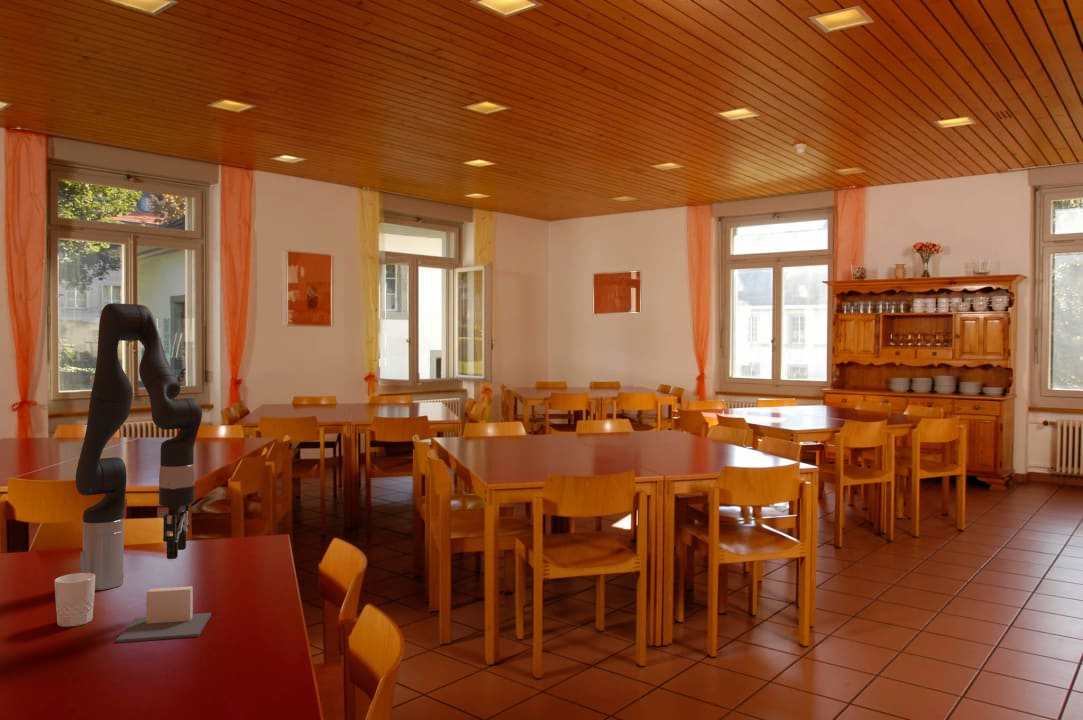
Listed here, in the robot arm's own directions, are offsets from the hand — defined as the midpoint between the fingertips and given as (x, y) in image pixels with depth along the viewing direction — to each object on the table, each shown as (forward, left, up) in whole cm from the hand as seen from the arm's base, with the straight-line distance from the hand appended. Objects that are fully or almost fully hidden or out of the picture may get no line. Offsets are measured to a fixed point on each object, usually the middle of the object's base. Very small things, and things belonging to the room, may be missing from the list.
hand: (176, 553), depth 179 cm
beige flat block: (0, -7, -13) cm, 15 cm away
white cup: (-21, -2, -14) cm, 25 cm away
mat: (0, -11, -14) cm, 17 cm away
